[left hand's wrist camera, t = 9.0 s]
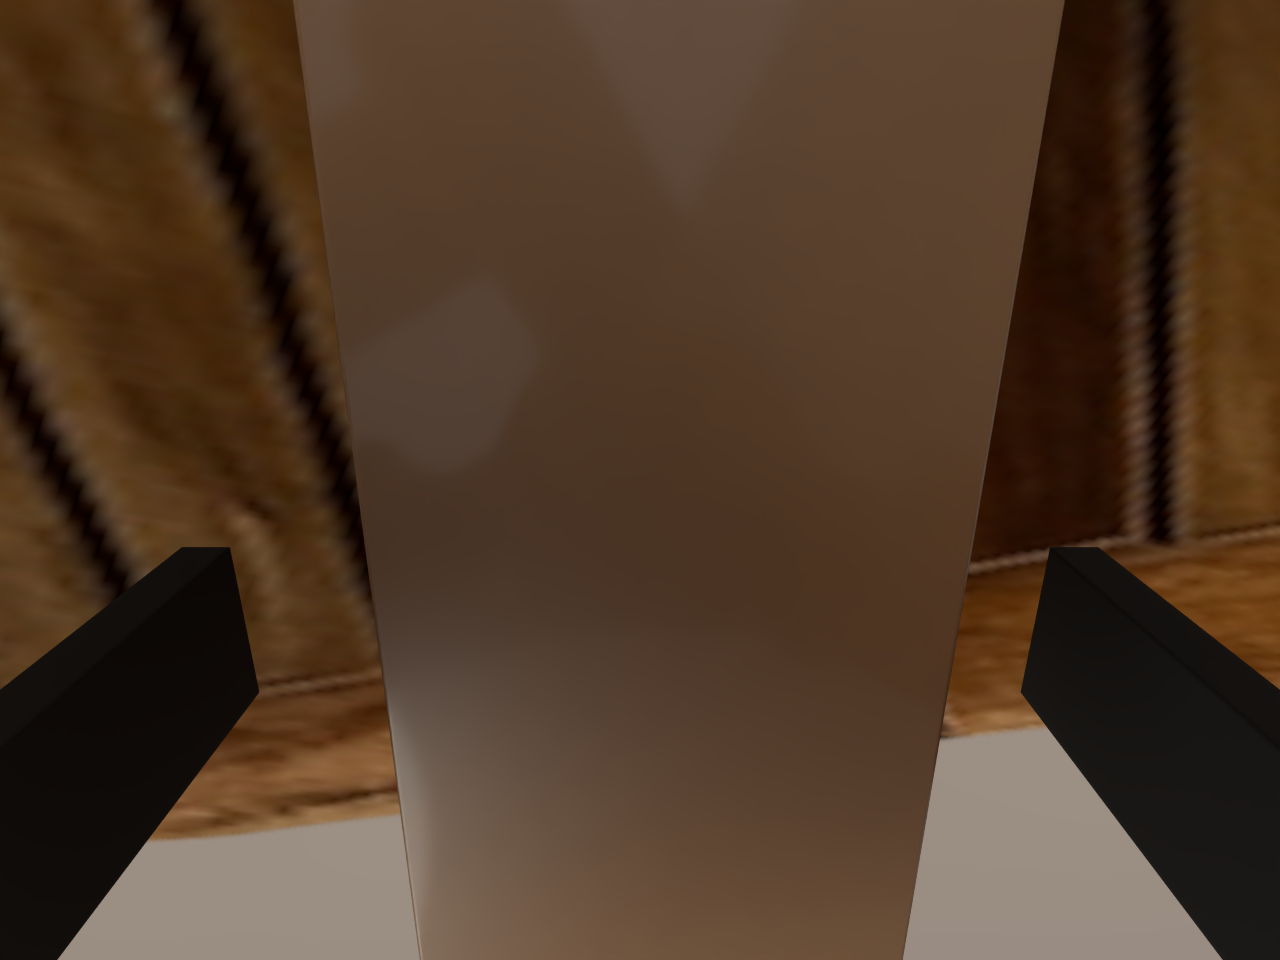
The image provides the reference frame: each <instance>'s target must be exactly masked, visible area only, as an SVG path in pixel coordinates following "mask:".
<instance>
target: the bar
mask: <svg viewBox="0 0 1280 960" xmlns="http://www.w3.org/2000/svg"><path fill="white" fill-rule="evenodd" d="M1064 2H1065V0H293V5H294V12H295V20H296V28H297V35H298V43H299V50H300V58H301V65H302V73H303V80H304V88H305V95H306V103H307V111H308V118H309V126H310V133H311V141H312V148H313V156H314V163H315V171H316V179H317V186H318V194H319V201H320V209H321V216H322V224H323V231H324V239H325V247H326V254H327V262H328V269H329V277H330V284H331V292H332V299H333V307H334V315H335V322H336V330H337V337H338V345H339V352H340V360H341V367H342V375H343V382H344V390H345V398H346V405H347V413H348V420H349V428H350V435H351V443H352V450H353V458H354V466H355V473H356V481H357V488H358V496H359V503H360V511H361V518H362V526H363V534H364V541H365V549H366V556H367V564H368V571H369V579H370V586H371V594H372V601H373V609H374V617H375V624H376V632H377V639H378V647H379V654H380V662H381V669H382V677H383V685H384V692H385V700H386V707H387V715H388V722H389V730H390V737H391V745H392V753H393V760H394V768H395V775H396V783H397V790H398V798H399V805H400V813H401V820H402V828H403V835H404V843H405V851H406V858H407V866H408V873H409V881H410V888H411V896H412V903H413V911H414V919H415V926H416V933H417V941H418V949H419V956H420V960H903V954H904V948H905V942H906V936H907V930H908V924H909V919H910V913H911V907H912V901H913V895H914V889H915V883H916V877H917V871H918V865H919V859H920V853H921V848H922V841H923V836H924V830H925V824H926V818H927V812H928V806H929V800H930V794H931V788H932V782H933V776H934V771H935V765H936V759H937V753H938V747H939V741H940V735H941V729H942V723H943V717H944V711H945V706H946V700H947V694H948V688H949V682H950V676H951V670H952V664H953V658H954V652H955V646H956V640H957V635H958V629H959V623H960V617H961V611H962V605H963V599H964V593H965V587H966V581H967V575H968V569H969V564H970V558H971V552H972V546H973V540H974V534H975V528H976V522H977V516H978V510H979V504H980V498H981V493H982V487H983V481H984V475H985V469H986V463H987V457H988V451H989V445H990V439H991V433H992V427H993V422H994V416H995V410H996V404H997V398H998V392H999V386H1000V380H1001V374H1002V368H1003V362H1004V357H1005V351H1006V345H1007V339H1008V333H1009V327H1010V321H1011V315H1012V309H1013V303H1014V297H1015V291H1016V286H1017V280H1018V274H1019V268H1020V262H1021V256H1022V250H1023V244H1024V238H1025V232H1026V226H1027V220H1028V215H1029V209H1030V203H1031V197H1032V191H1033V185H1034V179H1035V173H1036V167H1037V161H1038V155H1039V149H1040V144H1041V138H1042V132H1043V126H1044V120H1045V114H1046V108H1047V102H1048V96H1049V90H1050V84H1051V78H1052V73H1053V67H1054V61H1055V55H1056V49H1057V43H1058V37H1059V31H1060V25H1061V19H1062V13H1063V7H1064Z"/></svg>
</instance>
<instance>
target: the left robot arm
mask: <svg viewBox="0 0 1280 960" xmlns="http://www.w3.org/2000/svg"><path fill="white" fill-rule="evenodd" d="M258 693H259V689H258V684H257V679H256V674H255V669H254V664H253V659H252V654H251V649H250V644H249V639H248V635H247V630H246V625H245V620H244V615H243V610H242V605H241V600H240V595H239V590H238V585H237V580H236V575H235V570H234V566H233V561H232V556H231V551H230V547H182V548H180V549H179V550H178V551H177V552H175V553H174V554H173V555H171V556H170V557H169V558H168V559H166V560H165V561H164V562H163V563H161V564H160V565H159V566H157V567H156V568H155V569H154V570H152V571H151V572H150V573H149V574H147V575H146V576H145V577H143V578H142V579H141V580H140V581H138V582H137V583H136V584H134V585H133V586H132V587H131V588H129V589H128V590H127V591H126V592H124V593H123V594H122V595H120V596H119V597H118V598H117V599H115V600H114V601H113V602H112V603H110V604H109V605H108V606H106V607H105V608H104V609H103V610H101V611H100V612H99V613H98V614H96V615H95V616H94V617H92V618H91V619H90V620H89V621H87V622H86V623H85V624H83V625H82V626H81V627H80V628H78V629H77V630H76V631H75V632H73V633H72V634H71V635H69V636H68V637H67V638H66V639H64V640H63V641H62V642H61V643H59V644H58V645H57V646H55V647H54V648H53V649H52V650H50V651H49V652H48V653H46V654H45V655H44V656H43V657H41V658H40V659H39V660H38V661H36V662H35V663H34V664H32V665H31V666H30V667H29V668H27V669H26V670H25V671H24V672H22V673H21V674H20V675H18V676H17V677H16V678H15V679H13V680H12V681H11V682H10V683H8V684H7V685H6V686H4V687H3V688H2V689H1V690H0V960H57V959H58V958H59V957H60V955H61V954H62V953H63V952H64V950H65V949H66V948H67V946H68V945H69V944H70V942H71V941H72V940H73V938H74V937H75V936H76V934H77V933H78V932H79V930H80V929H81V928H82V926H83V925H84V924H85V922H86V921H87V920H88V918H89V917H90V916H91V914H92V913H93V912H94V910H95V909H96V908H97V907H98V905H99V904H100V903H101V901H102V900H103V899H104V897H105V896H106V895H107V893H108V892H109V891H110V889H111V888H112V887H113V885H114V884H115V883H116V881H117V880H118V879H119V877H120V876H121V875H122V873H123V872H124V871H125V869H126V868H127V867H128V865H129V864H130V863H131V861H132V860H133V859H134V858H135V856H136V855H137V854H138V852H139V851H140V850H141V848H142V847H143V846H144V844H145V843H146V842H147V840H148V839H149V838H150V836H151V835H152V834H153V832H154V831H155V830H156V828H157V827H158V826H159V824H160V823H161V822H162V820H163V819H164V818H165V816H166V815H167V814H168V813H169V811H170V810H171V809H172V807H173V806H174V805H175V803H176V802H177V801H178V799H179V798H180V797H181V795H182V794H183V793H184V791H185V790H186V789H187V787H188V786H189V785H190V783H191V782H192V781H193V779H194V778H195V777H196V775H197V774H198V773H199V771H200V770H201V769H202V767H203V766H204V765H205V764H206V762H207V761H208V760H209V758H210V757H211V756H212V754H213V753H214V752H215V750H216V749H217V748H218V746H219V745H220V744H221V742H222V741H223V740H224V738H225V737H226V736H227V734H228V733H229V732H230V730H231V729H232V728H233V726H234V725H235V724H236V722H237V721H238V720H239V718H240V717H241V716H242V715H243V713H244V712H245V711H246V709H247V708H248V707H249V705H250V704H251V703H252V701H253V700H254V699H255V697H256V696H257V695H258ZM1021 693H1022V695H1023V696H1024V697H1025V699H1026V700H1027V701H1028V703H1029V704H1030V705H1031V707H1032V708H1033V709H1034V711H1035V712H1036V713H1037V715H1038V716H1039V717H1040V718H1041V720H1042V721H1043V722H1044V724H1045V725H1046V726H1047V728H1048V729H1049V730H1050V732H1051V733H1052V734H1053V736H1054V737H1055V738H1056V740H1057V741H1058V742H1059V744H1060V745H1061V746H1062V748H1063V749H1064V750H1065V752H1066V753H1067V754H1068V756H1069V757H1070V758H1071V760H1072V761H1073V762H1074V764H1075V765H1076V766H1077V767H1078V769H1079V770H1080V771H1081V773H1082V774H1083V775H1084V777H1085V778H1086V779H1087V781H1088V782H1089V783H1090V785H1091V786H1092V787H1093V789H1094V790H1095V791H1096V793H1097V794H1098V795H1099V797H1100V798H1101V799H1102V801H1103V802H1104V803H1105V805H1106V806H1107V807H1108V809H1109V810H1110V811H1111V813H1112V814H1113V815H1114V816H1115V818H1116V819H1117V820H1118V822H1119V823H1120V824H1121V826H1122V827H1123V828H1124V830H1125V831H1126V832H1127V834H1128V835H1129V836H1130V838H1131V839H1132V840H1133V842H1134V843H1135V844H1136V846H1137V847H1138V848H1139V850H1140V851H1141V852H1142V853H1143V855H1144V856H1145V858H1146V859H1147V860H1148V861H1149V863H1150V864H1151V865H1152V867H1153V868H1154V869H1155V871H1156V872H1157V873H1158V875H1159V876H1160V877H1161V879H1162V880H1163V881H1164V883H1165V884H1166V885H1167V887H1168V888H1169V889H1170V891H1171V892H1172V893H1173V895H1174V896H1175V897H1176V899H1177V900H1178V901H1179V903H1180V904H1181V905H1182V906H1183V908H1184V909H1185V910H1186V912H1187V913H1188V914H1189V916H1190V917H1191V918H1192V920H1193V921H1194V922H1195V924H1196V925H1197V926H1198V928H1199V929H1200V930H1201V932H1202V933H1203V934H1204V936H1205V937H1206V938H1207V940H1208V941H1209V942H1210V944H1211V945H1212V946H1213V948H1214V949H1215V950H1216V952H1217V953H1218V954H1219V956H1220V957H1221V958H1222V959H1223V960H1280V690H1279V689H1278V688H1277V687H1276V686H1274V685H1273V684H1272V683H1270V682H1269V681H1268V680H1267V679H1265V678H1264V677H1263V676H1262V675H1260V674H1259V673H1258V672H1256V671H1255V670H1254V669H1253V668H1251V667H1250V666H1249V665H1248V664H1246V663H1245V662H1244V661H1242V660H1241V659H1240V658H1239V657H1237V656H1236V655H1235V654H1234V653H1232V652H1231V651H1230V650H1228V649H1227V648H1226V647H1225V646H1223V645H1222V644H1221V643H1219V642H1218V641H1217V640H1216V639H1214V638H1213V637H1212V636H1211V635H1209V634H1208V633H1207V632H1205V631H1204V630H1203V629H1202V628H1200V627H1199V626H1198V625H1197V624H1195V623H1194V622H1193V621H1191V620H1190V619H1189V618H1188V617H1186V616H1185V615H1184V614H1182V613H1181V612H1180V611H1179V610H1177V609H1176V608H1175V607H1174V606H1172V605H1171V604H1170V603H1168V602H1167V601H1166V600H1165V599H1163V598H1162V597H1161V596H1160V595H1158V594H1157V593H1156V592H1154V591H1153V590H1152V589H1151V588H1149V587H1148V586H1147V585H1146V584H1144V583H1143V582H1142V581H1140V580H1139V579H1138V578H1137V577H1135V576H1134V575H1133V574H1131V573H1130V572H1129V571H1128V570H1126V569H1125V568H1124V567H1123V566H1121V565H1120V564H1119V563H1117V562H1116V561H1115V560H1114V559H1112V558H1111V557H1110V556H1109V555H1107V554H1106V553H1105V552H1103V551H1102V550H1101V549H1100V548H1098V547H1050V551H1049V556H1048V561H1047V566H1046V570H1045V575H1044V580H1043V585H1042V590H1041V595H1040V600H1039V605H1038V610H1037V615H1036V620H1035V625H1034V630H1033V634H1032V639H1031V644H1030V649H1029V654H1028V659H1027V664H1026V669H1025V674H1024V679H1023V684H1022V689H1021Z"/></svg>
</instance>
